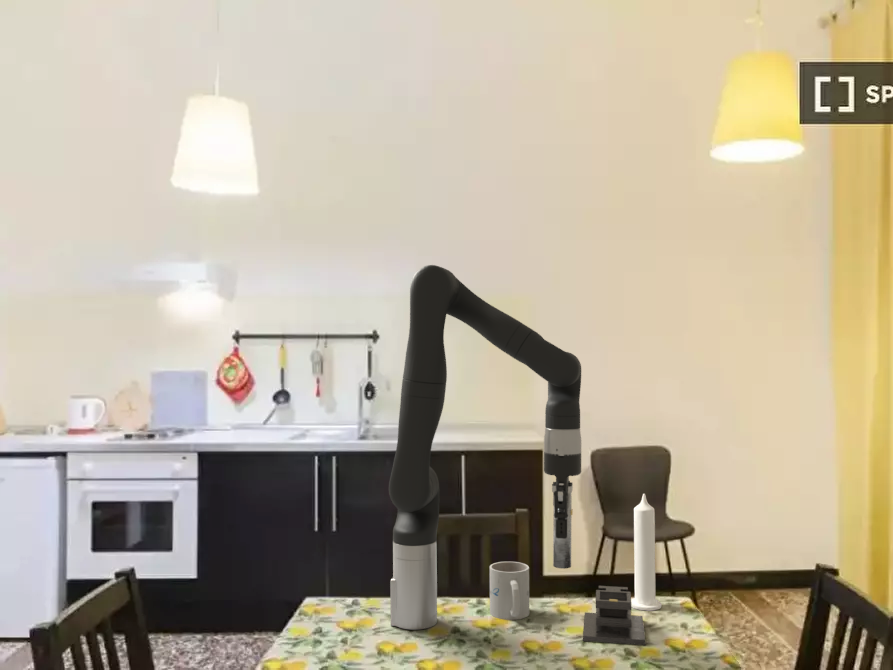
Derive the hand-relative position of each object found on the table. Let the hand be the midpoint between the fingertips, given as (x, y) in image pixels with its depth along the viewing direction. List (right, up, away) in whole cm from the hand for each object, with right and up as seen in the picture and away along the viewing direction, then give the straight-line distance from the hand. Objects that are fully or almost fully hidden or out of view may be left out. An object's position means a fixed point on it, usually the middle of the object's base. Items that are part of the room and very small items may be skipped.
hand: (562, 535), depth 161 cm
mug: (-10, -20, +11) cm, 25 cm away
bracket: (+11, -20, +2) cm, 23 cm away
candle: (+21, -20, +17) cm, 34 cm away
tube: (0, -6, 0) cm, 6 cm away
